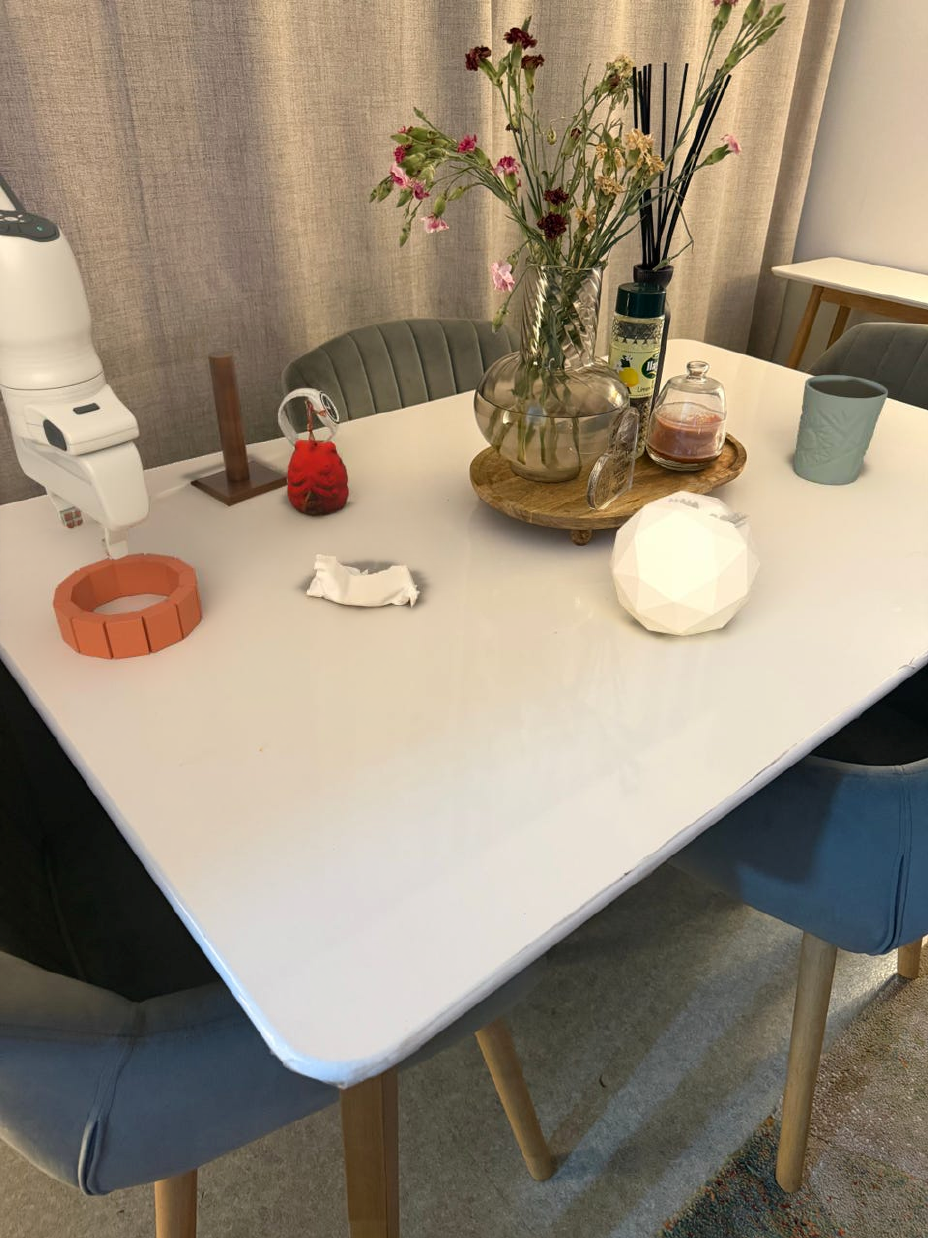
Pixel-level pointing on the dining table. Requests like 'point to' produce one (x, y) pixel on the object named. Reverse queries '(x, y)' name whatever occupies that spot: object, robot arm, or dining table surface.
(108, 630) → the hoop
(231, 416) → the peg stand
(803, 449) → the green embossed cup
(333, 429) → the watch
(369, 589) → the fabric
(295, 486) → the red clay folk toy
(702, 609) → the geodesic sphere
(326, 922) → the dining table surface
